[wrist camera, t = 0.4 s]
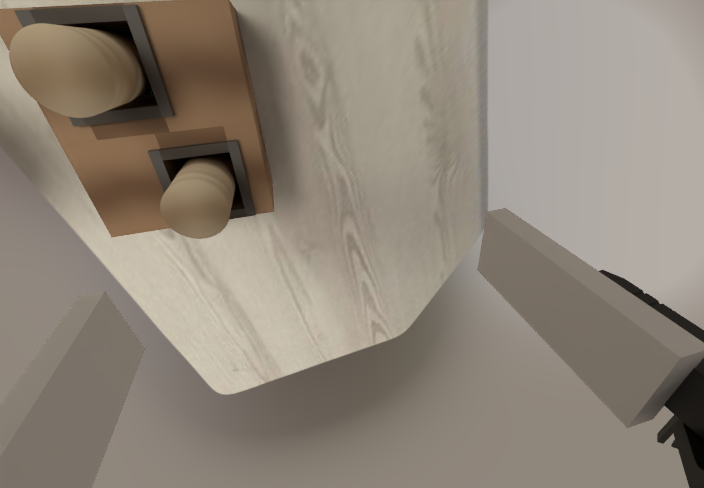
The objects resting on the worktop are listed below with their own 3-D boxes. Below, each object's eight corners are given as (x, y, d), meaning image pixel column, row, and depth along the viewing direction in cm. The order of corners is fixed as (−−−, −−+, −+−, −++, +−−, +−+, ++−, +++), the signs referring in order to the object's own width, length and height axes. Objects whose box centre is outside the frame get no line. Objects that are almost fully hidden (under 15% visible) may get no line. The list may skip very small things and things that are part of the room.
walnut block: (58, 20, 26) (-20, 8, 19) (235, 10, 28) (226, -4, 21) (141, 200, 34) (109, 240, 27) (272, 181, 36) (274, 213, 29)
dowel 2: (176, 153, 28) (149, 186, 21) (229, 146, 28) (219, 176, 22) (193, 200, 30) (174, 243, 23) (242, 193, 31) (236, 232, 24)
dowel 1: (69, 33, 22) (-13, 26, 16) (139, 28, 23) (88, 20, 16) (101, 102, 25) (41, 122, 18) (162, 96, 25) (127, 113, 19)
